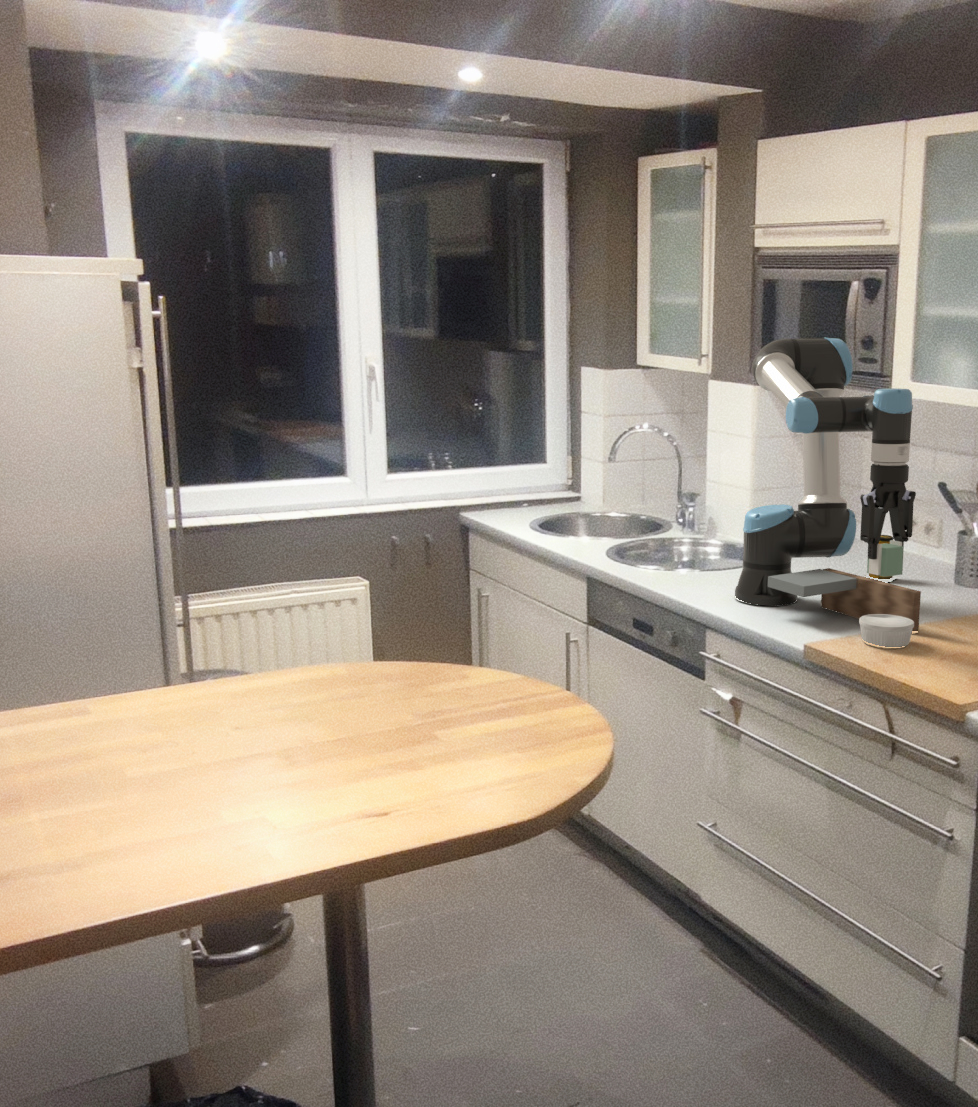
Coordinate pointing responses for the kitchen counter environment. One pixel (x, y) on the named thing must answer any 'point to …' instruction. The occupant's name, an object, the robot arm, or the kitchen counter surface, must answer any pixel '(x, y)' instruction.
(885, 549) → the block
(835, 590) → the lid
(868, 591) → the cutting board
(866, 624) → the ramekin
